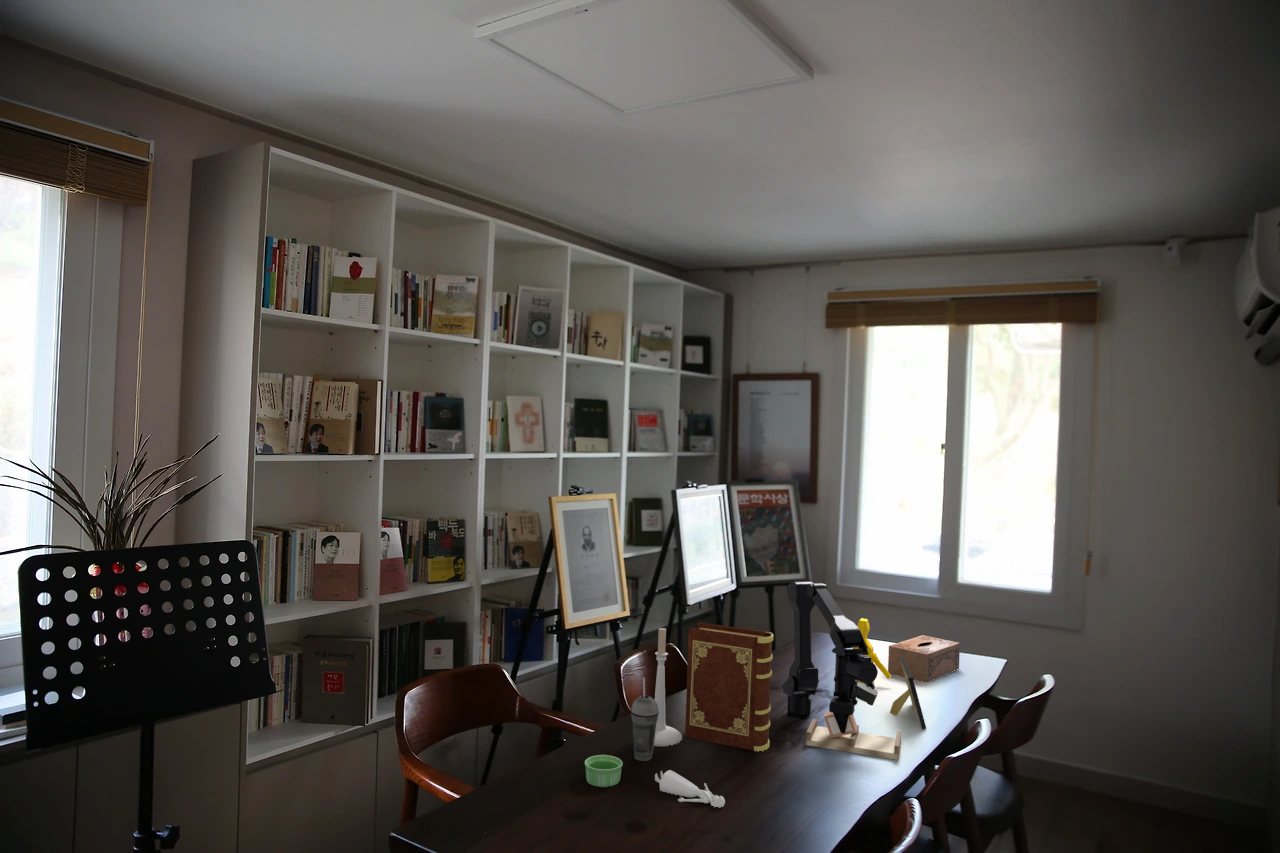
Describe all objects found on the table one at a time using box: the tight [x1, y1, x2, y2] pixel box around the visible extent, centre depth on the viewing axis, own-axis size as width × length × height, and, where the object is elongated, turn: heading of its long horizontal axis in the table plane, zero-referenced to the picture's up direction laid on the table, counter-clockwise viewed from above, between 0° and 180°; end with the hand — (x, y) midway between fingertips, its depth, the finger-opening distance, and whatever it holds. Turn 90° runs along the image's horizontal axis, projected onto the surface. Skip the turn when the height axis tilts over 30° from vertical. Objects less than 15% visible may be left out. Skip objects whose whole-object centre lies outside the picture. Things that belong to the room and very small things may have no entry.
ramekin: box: [584, 754, 624, 788], centre depth 199 cm, size 9×9×4 cm
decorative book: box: [684, 622, 774, 753], centre depth 228 cm, size 22×8×30 cm, turn 65°
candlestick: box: [654, 627, 683, 747], centre depth 228 cm, size 13×13×30 cm
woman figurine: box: [654, 769, 726, 809], centre depth 192 cm, size 12×4×18 cm
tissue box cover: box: [887, 634, 961, 683], centre depth 303 cm, size 26×14×10 cm, turn 135°
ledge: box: [805, 718, 903, 761], centre depth 228 cm, size 24×12×4 cm, turn 70°
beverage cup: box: [630, 677, 659, 762], centre depth 214 cm, size 7×7×20 cm
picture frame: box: [889, 657, 927, 731], centre depth 254 cm, size 23×9×15 cm, turn 168°
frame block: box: [823, 710, 858, 738], centre depth 229 cm, size 7×4×6 cm, turn 70°
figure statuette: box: [852, 617, 892, 684], centre depth 286 cm, size 18×8×22 cm, turn 57°
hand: (843, 730), depth 229 cm, fingers closed on frame block, 4 cm apart
